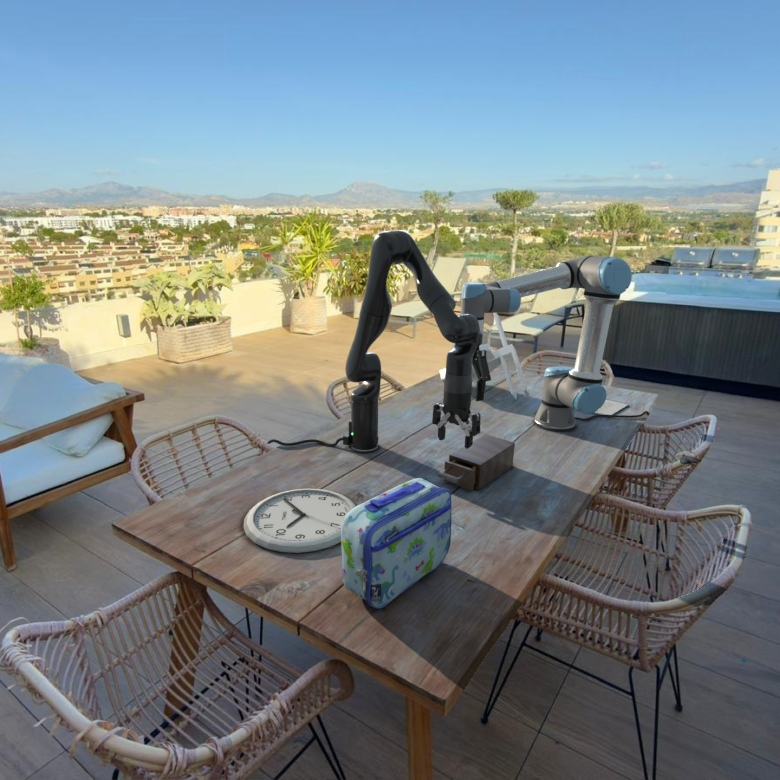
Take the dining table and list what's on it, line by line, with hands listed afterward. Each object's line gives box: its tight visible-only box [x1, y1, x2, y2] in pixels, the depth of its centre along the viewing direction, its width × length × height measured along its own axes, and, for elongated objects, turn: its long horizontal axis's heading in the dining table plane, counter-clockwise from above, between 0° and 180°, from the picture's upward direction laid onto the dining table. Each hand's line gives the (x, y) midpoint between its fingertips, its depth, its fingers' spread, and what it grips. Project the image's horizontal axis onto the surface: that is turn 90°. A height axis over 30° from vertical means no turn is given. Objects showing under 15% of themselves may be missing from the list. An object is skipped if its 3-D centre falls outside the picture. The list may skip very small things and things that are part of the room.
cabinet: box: [448, 433, 516, 491], centre depth 162 cm, size 22×11×8 cm, turn 140°
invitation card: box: [593, 399, 629, 415], centre depth 226 cm, size 21×1×15 cm
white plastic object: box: [438, 313, 531, 400], centre depth 245 cm, size 37×45×31 cm
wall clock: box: [243, 488, 357, 554], centre depth 136 cm, size 30×2×30 cm
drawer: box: [436, 459, 477, 491], centre depth 157 cm, size 26×10×6 cm, turn 140°
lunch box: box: [340, 477, 452, 610], centre depth 110 cm, size 26×11×21 cm, turn 134°
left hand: (454, 443), depth 147 cm, fingers open, 8 cm apart
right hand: (466, 394), depth 174 cm, fingers open, 13 cm apart
